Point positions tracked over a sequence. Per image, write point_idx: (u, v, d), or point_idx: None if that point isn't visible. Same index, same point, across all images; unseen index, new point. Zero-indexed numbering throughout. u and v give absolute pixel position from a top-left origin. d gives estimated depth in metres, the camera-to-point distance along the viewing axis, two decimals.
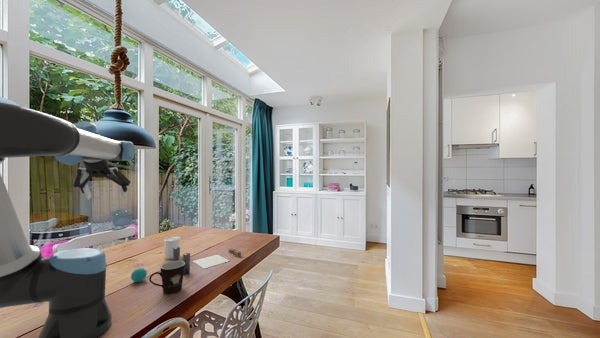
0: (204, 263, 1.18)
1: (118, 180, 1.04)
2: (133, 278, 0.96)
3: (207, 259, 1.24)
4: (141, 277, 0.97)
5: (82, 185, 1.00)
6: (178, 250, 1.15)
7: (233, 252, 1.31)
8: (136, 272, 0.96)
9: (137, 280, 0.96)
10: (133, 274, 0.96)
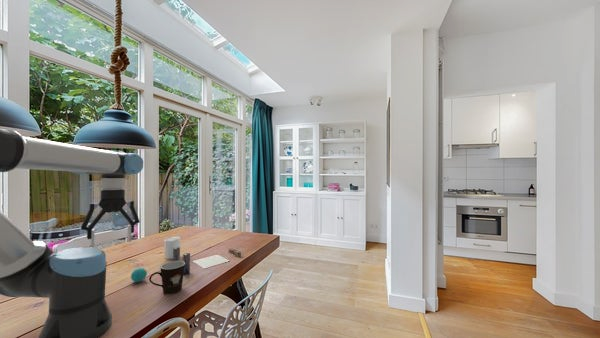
0: (204, 263, 1.18)
1: (129, 217, 0.96)
2: (133, 278, 0.96)
3: (207, 259, 1.24)
4: (141, 277, 0.97)
5: (92, 226, 0.87)
6: (178, 250, 1.15)
7: (233, 252, 1.31)
8: (136, 272, 0.96)
9: (137, 280, 0.96)
10: (133, 274, 0.96)
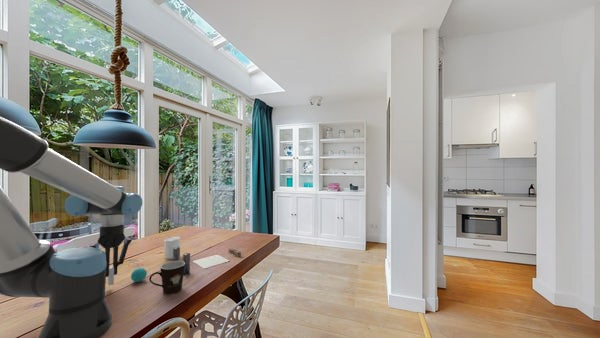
0: (204, 263, 1.18)
1: None
2: (133, 278, 0.96)
3: (207, 259, 1.24)
4: (141, 277, 0.97)
5: (107, 264, 0.90)
6: (178, 250, 1.15)
7: (233, 252, 1.31)
8: (136, 272, 0.96)
9: (137, 280, 0.96)
10: (133, 274, 0.96)
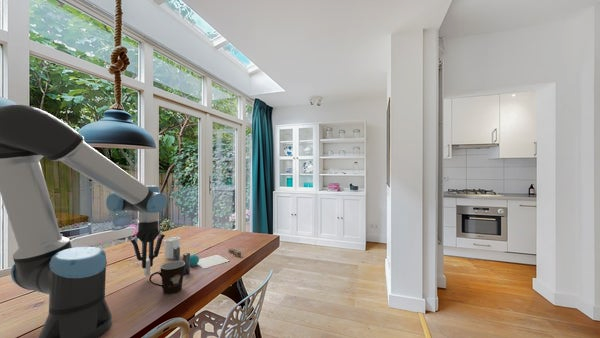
0: (204, 263, 1.18)
1: None
2: (194, 256, 1.15)
3: (207, 259, 1.24)
4: (194, 262, 1.13)
5: (144, 256, 0.99)
6: (178, 250, 1.15)
7: (233, 252, 1.31)
8: (198, 258, 1.16)
9: (192, 259, 1.13)
10: (197, 256, 1.16)
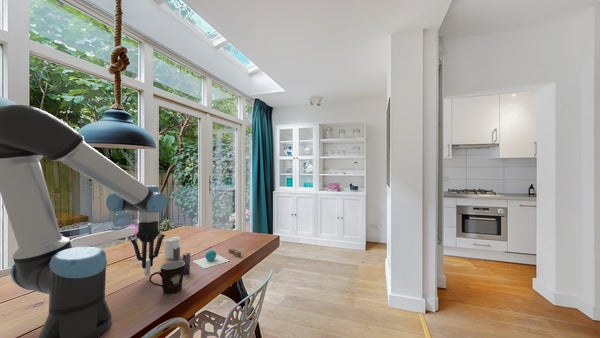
0: (204, 263, 1.18)
1: None
2: (210, 260, 1.21)
3: None
4: (214, 256, 1.21)
5: (144, 256, 0.99)
6: (178, 250, 1.15)
7: (233, 252, 1.31)
8: (208, 257, 1.20)
9: (213, 259, 1.22)
10: (207, 259, 1.20)
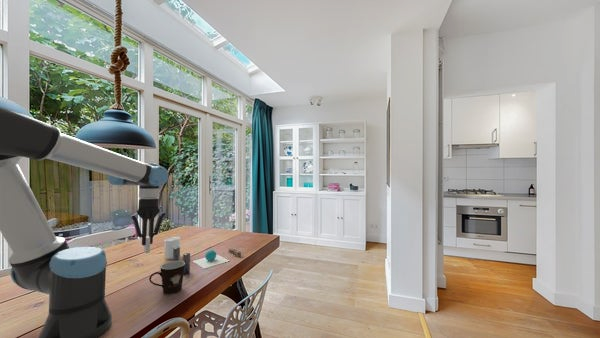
0: (204, 263, 1.18)
1: None
2: (210, 260, 1.21)
3: None
4: (214, 256, 1.21)
5: (145, 233, 0.99)
6: (178, 250, 1.15)
7: (233, 252, 1.31)
8: (208, 257, 1.20)
9: (213, 259, 1.22)
10: (207, 259, 1.20)
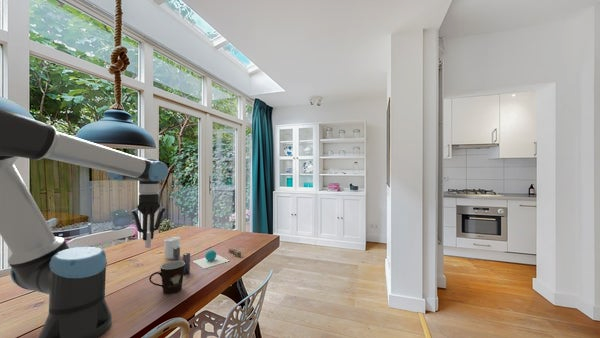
0: (204, 263, 1.18)
1: None
2: (210, 260, 1.21)
3: None
4: (214, 256, 1.21)
5: (145, 228, 0.99)
6: (178, 250, 1.15)
7: (233, 252, 1.31)
8: (208, 257, 1.20)
9: (213, 259, 1.22)
10: (207, 259, 1.20)
